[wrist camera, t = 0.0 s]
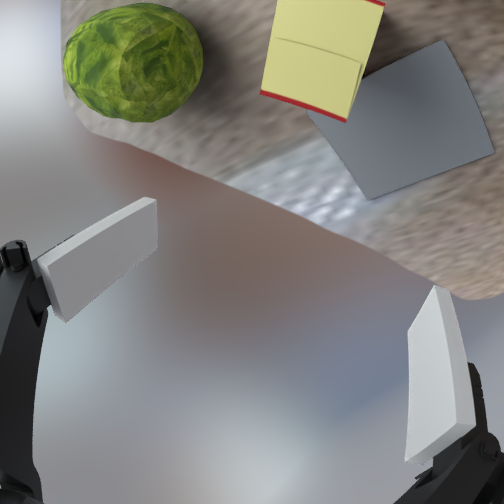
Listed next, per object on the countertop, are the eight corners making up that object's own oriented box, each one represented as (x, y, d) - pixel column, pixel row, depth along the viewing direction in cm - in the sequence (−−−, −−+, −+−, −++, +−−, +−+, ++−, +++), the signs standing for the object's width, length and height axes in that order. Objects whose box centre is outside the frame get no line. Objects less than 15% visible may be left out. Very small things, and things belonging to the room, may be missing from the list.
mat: (442, 39, 20) (443, 39, 19) (493, 150, 25) (494, 152, 25) (307, 110, 34) (305, 112, 33) (368, 197, 39) (367, 200, 39)
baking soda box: (324, -9, 21) (281, -25, 12) (382, 10, 21) (385, 3, 11) (307, 60, 29) (257, 95, 19) (360, 78, 28) (345, 125, 18)
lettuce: (123, 2, 30) (38, 42, 24) (208, -19, 21) (79, 22, 16) (145, 78, 43) (73, 123, 38) (228, 94, 34) (131, 155, 29)
